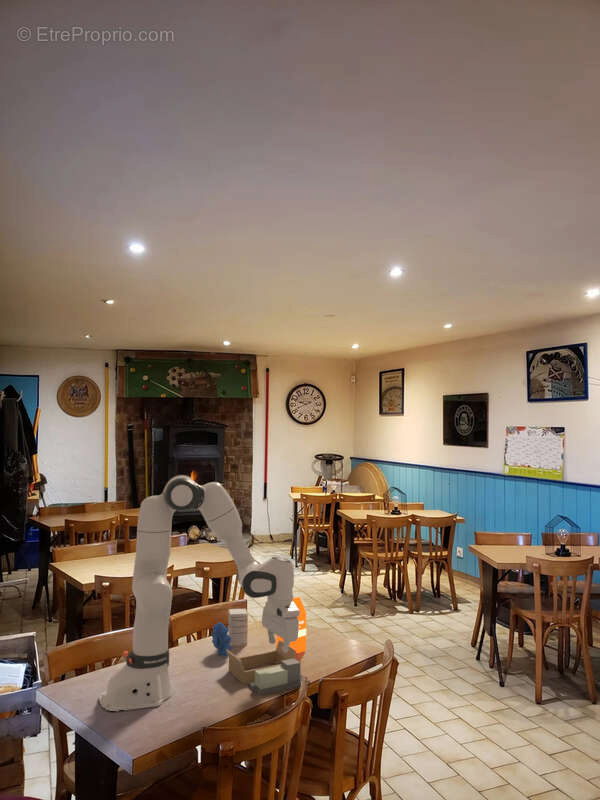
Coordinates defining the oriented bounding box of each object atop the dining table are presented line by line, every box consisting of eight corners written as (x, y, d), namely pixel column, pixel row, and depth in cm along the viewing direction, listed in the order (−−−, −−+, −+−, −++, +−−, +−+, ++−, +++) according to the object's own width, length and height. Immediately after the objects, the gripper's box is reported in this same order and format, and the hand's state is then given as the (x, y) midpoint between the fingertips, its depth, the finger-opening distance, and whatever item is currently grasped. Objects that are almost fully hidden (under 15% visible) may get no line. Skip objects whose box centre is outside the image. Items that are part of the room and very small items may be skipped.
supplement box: (227, 640, 248) (228, 608, 249) (245, 639, 250) (246, 608, 250) (229, 646, 241) (229, 614, 242) (247, 645, 242) (248, 613, 243)
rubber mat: (259, 695, 196) (259, 692, 196) (248, 686, 203) (249, 683, 203) (309, 684, 205) (309, 681, 205) (298, 675, 212) (298, 672, 212)
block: (260, 689, 198) (260, 670, 199) (254, 684, 202) (254, 666, 202) (300, 680, 206) (300, 662, 206) (293, 676, 209) (294, 658, 210)
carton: (240, 685, 204) (240, 661, 204) (225, 671, 215) (225, 649, 216) (296, 673, 215) (296, 650, 215) (279, 660, 226) (279, 639, 227)
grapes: (203, 653, 233) (204, 621, 234) (218, 649, 237) (218, 618, 238) (220, 662, 224) (220, 629, 225) (235, 658, 228) (235, 625, 229)
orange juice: (276, 650, 237) (276, 598, 238) (293, 645, 243) (293, 594, 244) (289, 656, 231) (290, 602, 232) (306, 650, 237) (306, 598, 238)
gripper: (258, 599, 213) (256, 639, 212) (285, 614, 195) (283, 658, 194) (274, 597, 216) (272, 637, 215) (302, 612, 198) (301, 655, 197)
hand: (278, 647), depth 205 cm, fingers open, 8 cm apart
